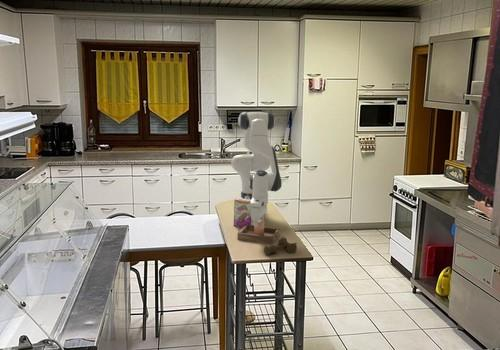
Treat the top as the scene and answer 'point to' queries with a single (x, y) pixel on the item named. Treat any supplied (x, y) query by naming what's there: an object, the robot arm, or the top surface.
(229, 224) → the top surface
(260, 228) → the peach rounded capsule
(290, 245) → the kendama
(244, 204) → the candy bar box
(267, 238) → the tray
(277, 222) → the top surface
